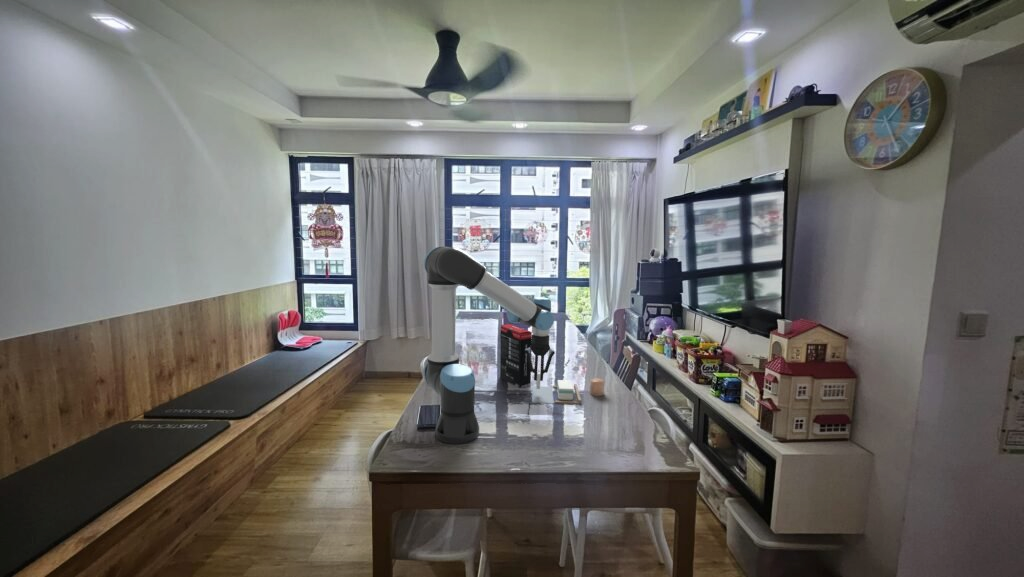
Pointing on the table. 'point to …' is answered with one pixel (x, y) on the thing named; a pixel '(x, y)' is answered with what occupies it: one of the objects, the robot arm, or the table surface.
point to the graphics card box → (515, 355)
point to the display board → (551, 395)
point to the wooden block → (597, 387)
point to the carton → (565, 389)
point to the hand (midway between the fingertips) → (538, 387)
